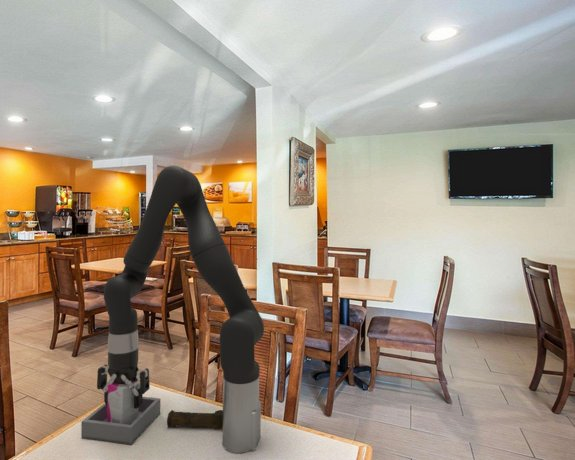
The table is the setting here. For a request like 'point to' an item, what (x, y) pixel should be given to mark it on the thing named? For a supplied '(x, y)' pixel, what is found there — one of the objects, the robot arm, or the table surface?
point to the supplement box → (121, 404)
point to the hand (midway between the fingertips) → (123, 405)
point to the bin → (120, 433)
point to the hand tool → (196, 419)
